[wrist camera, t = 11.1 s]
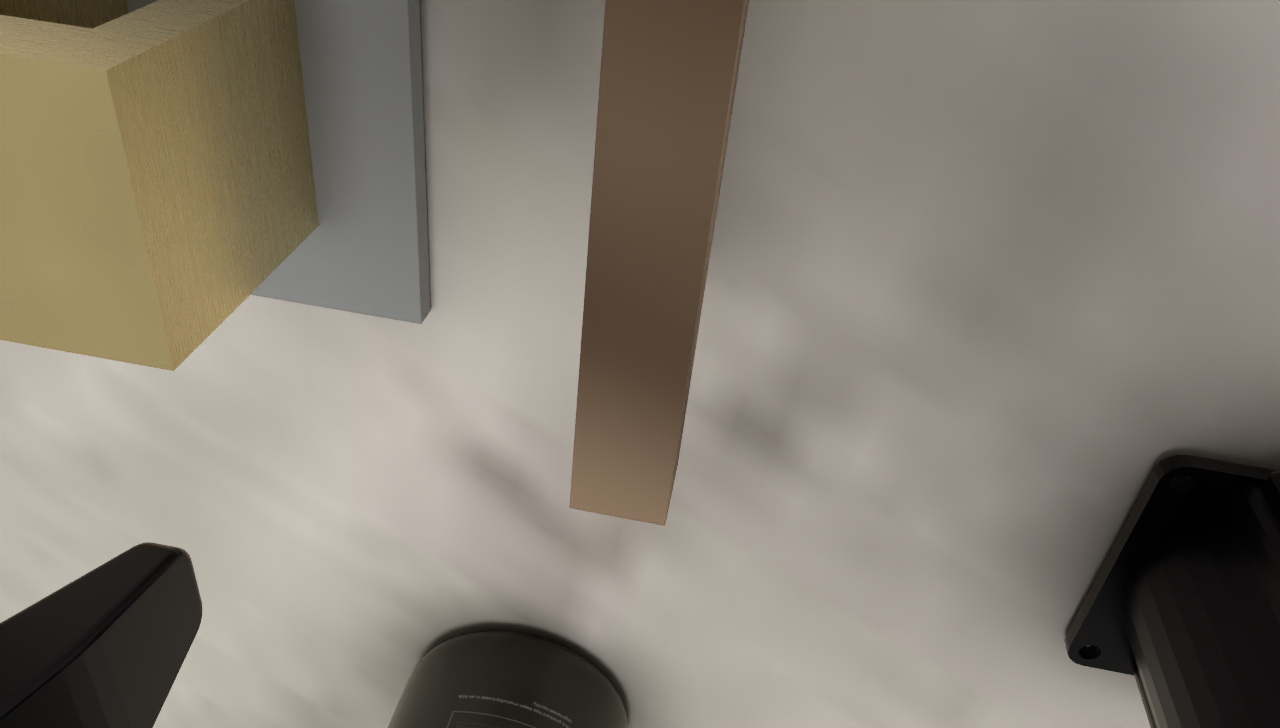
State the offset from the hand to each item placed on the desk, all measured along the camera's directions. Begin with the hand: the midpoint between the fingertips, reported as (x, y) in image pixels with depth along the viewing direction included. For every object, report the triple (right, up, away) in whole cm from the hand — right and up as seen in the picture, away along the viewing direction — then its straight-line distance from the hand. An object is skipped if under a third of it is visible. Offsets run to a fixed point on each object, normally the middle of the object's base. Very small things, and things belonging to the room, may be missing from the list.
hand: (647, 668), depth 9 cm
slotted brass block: (-9, +8, +10) cm, 16 cm away
